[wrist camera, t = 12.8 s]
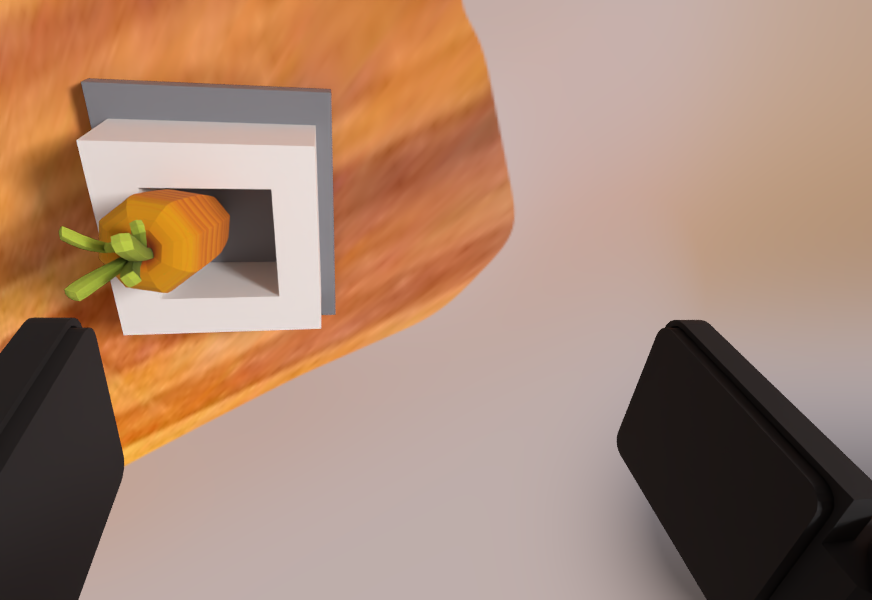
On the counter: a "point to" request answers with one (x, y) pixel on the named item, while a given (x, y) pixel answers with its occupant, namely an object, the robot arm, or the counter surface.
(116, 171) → the socket stand
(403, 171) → the counter surface
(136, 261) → the carrot
